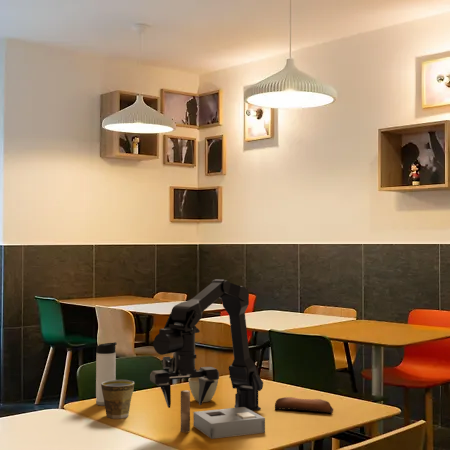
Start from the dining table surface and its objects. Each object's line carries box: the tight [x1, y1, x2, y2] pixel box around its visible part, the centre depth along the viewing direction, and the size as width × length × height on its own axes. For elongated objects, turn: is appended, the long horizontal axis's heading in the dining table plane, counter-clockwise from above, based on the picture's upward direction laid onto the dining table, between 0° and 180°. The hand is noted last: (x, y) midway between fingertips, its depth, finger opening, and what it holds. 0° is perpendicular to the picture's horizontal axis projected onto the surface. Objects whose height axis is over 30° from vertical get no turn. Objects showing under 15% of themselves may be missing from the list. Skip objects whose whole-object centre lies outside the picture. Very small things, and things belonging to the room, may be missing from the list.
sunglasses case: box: [274, 396, 335, 415], centre depth 213 cm, size 18×7×7 cm, turn 71°
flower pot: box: [187, 377, 219, 403], centre depth 226 cm, size 10×10×7 cm
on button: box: [237, 412, 255, 419], centre depth 189 cm, size 4×5×2 cm
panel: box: [192, 407, 266, 440], centre depth 191 cm, size 16×14×4 cm
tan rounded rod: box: [180, 389, 191, 433], centre depth 189 cm, size 3×3×11 cm
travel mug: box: [95, 341, 117, 407], centre depth 222 cm, size 6×7×20 cm
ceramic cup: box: [101, 379, 135, 420], centre depth 206 cm, size 13×10×10 cm
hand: (184, 406), depth 189 cm, fingers open, 9 cm apart
